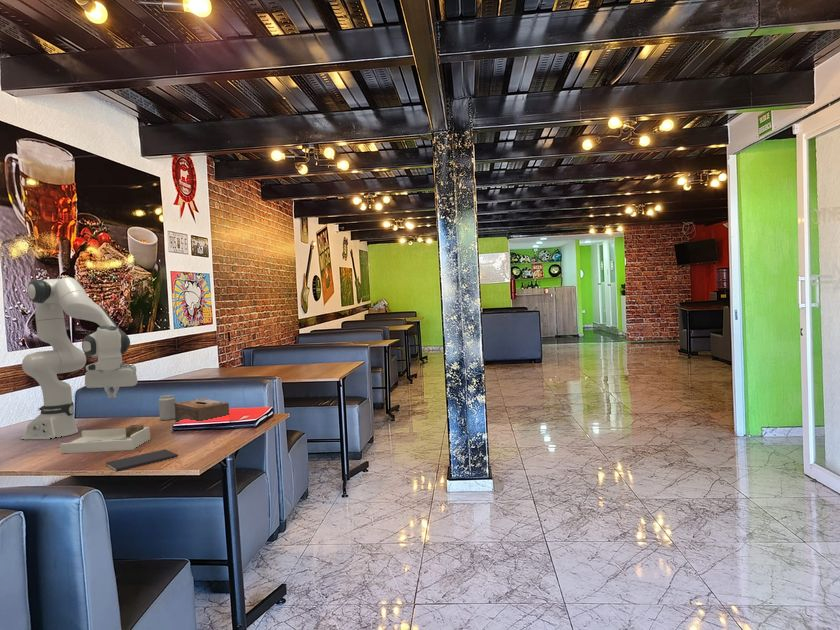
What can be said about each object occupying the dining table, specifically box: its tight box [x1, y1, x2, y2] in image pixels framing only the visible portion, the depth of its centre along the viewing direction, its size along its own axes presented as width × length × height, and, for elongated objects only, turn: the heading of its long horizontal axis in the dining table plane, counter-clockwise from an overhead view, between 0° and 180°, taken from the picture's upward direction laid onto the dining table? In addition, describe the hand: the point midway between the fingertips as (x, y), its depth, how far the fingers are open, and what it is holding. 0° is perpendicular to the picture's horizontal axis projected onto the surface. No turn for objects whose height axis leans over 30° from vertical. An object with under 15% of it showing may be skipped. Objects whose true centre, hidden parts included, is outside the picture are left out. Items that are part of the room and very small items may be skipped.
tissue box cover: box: [174, 397, 230, 423], centre depth 271 cm, size 26×14×10 cm, turn 47°
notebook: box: [105, 449, 179, 472], centre depth 209 cm, size 13×2×21 cm
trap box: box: [59, 426, 151, 454], centre depth 234 cm, size 28×16×6 cm, turn 92°
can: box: [158, 394, 176, 422], centre depth 284 cm, size 8×8×12 cm
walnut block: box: [125, 424, 144, 437], centre depth 238 cm, size 5×5×4 cm
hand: (112, 397), depth 237 cm, fingers closed
